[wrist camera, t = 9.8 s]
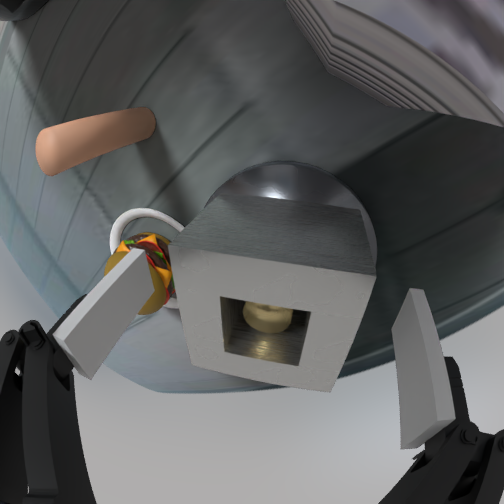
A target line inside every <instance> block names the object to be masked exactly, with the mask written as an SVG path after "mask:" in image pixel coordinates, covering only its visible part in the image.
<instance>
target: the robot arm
mask: <svg viewBox="0 0 504 504" xmlns="http://www.w3.org/2000/svg"><path fill="white" fill-rule="evenodd" d="M47 1H48V0H0V21H13V20H23V19H25V18H28V17H29V16H31V15H32V14H34V13H35V12H36V11H37V10H39V9H40V8H41V7H42V6H43V5H44V4H45V3H46V2H47ZM154 291H155V290H154V286H153V282H152V278H151V274H150V270H149V266H148V262H147V257H146V253H145V250H142V249H136V248H133V249H132V250H131V251H130V252H129V253H128V254H127V255H126V256H125V257H124V258H123V259H122V260H121V261H120V262H119V263H118V264H117V265H116V266H115V267H114V268H113V269H112V270H111V271H110V272H109V273H108V274H107V275H106V276H105V277H104V278H103V279H102V280H101V281H100V282H99V283H98V284H97V285H96V286H95V287H94V288H93V289H92V291H91V292H90V293H89V294H88V295H87V294H85V295H83V296H82V297H80V298H79V299H77V300H76V301H75V302H74V303H73V304H72V306H71V308H69V309H68V310H67V311H66V313H65V314H63V316H62V317H61V318H60V319H59V320H58V321H57V323H55V325H54V326H53V327H52V328H51V329H50V330H49V332H48V333H47V334H46V333H45V331H44V330H43V328H42V327H41V325H40V323H39V322H38V321H36V320H30V321H28V322H26V323H25V324H23V325H22V326H21V328H20V329H19V332H17V331H16V330H10V331H8V332H6V333H5V334H4V335H3V337H2V339H1V341H0V504H96V501H95V497H94V494H93V491H92V487H91V484H90V480H89V476H88V472H87V468H86V463H85V458H84V454H83V449H82V444H81V437H80V431H79V425H78V418H77V410H76V400H75V388H74V375H73V372H72V369H73V367H75V368H76V370H77V371H78V372H79V374H81V375H82V376H84V377H86V378H88V379H90V380H91V379H92V378H93V376H94V374H95V373H96V372H97V370H98V369H99V367H100V366H101V364H102V363H103V361H104V360H105V359H106V357H107V356H108V354H109V353H110V351H111V350H112V348H113V347H114V346H115V344H116V343H117V341H118V340H119V339H120V337H121V336H122V334H123V333H124V332H125V330H126V329H127V327H128V326H129V325H130V323H131V322H132V320H133V319H134V318H135V316H136V315H137V314H138V312H139V311H140V310H141V308H142V307H143V306H144V304H145V303H146V302H147V300H148V299H149V298H150V296H151V295H152V294H153V292H154ZM391 331H392V337H393V344H394V351H395V360H396V368H397V378H398V390H399V404H400V425H401V449H412V448H418V447H420V446H421V445H422V444H424V443H425V450H423V451H422V452H420V453H419V454H417V455H416V456H415V457H414V458H413V460H415V459H416V458H417V460H416V461H415V462H414V463H413V465H412V466H411V467H410V469H409V470H408V471H407V472H406V473H405V475H404V476H403V477H402V478H401V480H399V482H398V483H397V484H396V485H395V486H394V487H393V489H392V490H391V491H390V492H389V493H388V494H387V495H386V496H385V497H384V498H383V499H382V500H381V501H380V502H379V503H378V504H499V502H500V499H501V496H502V493H503V490H504V429H503V430H501V431H499V432H498V433H496V434H495V435H492V434H487V433H483V432H480V431H479V429H478V427H477V426H476V425H475V424H474V423H473V422H470V419H469V414H468V408H467V403H466V398H465V393H464V388H463V383H462V380H461V375H460V371H459V367H458V365H457V363H456V362H455V360H454V359H453V357H444V356H443V352H442V348H441V345H440V341H439V337H438V333H437V330H436V327H435V323H434V320H433V317H432V314H431V311H430V308H429V305H428V302H427V299H426V296H425V293H424V290H422V289H413V288H409V291H408V293H407V295H406V298H405V300H404V302H403V305H402V307H401V309H400V311H399V314H398V316H397V318H396V320H395V322H394V324H393V326H392V328H391ZM16 367H17V368H18V369H19V370H20V374H19V376H18V375H17V374H16V373H15V369H16ZM28 486H29V493H28Z"/></svg>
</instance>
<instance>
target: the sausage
mask: <svg viewBox="0 0 504 504" xmlns="http://www.w3.org/2000/svg"><path fill="white" fill-rule="evenodd" d="M155 126H156V120H155V116H154V114H153V113H152V111H151V110H150V109H148V108H146V107H138V108H131V109H125V110H119V111H114V112H109V113H104V114H99V115H94V116H90V117H86V118H81V119H77V120H73V121H70V122H66V123H62V124H59V125H55V126H52V127H49V128H45V129H43V130H42V131H41V132H40V133H39V135H38V137H37V141H36V157H37V161H38V164H39V166H40V168H41V169H42V171H43V172H44V173H45V174H46V175H48V176H54V175H56V174H58V173H60V172H62V171H65V170H67V169H69V168H71V167H73V166H76V165H78V164H80V163H83V162H85V161H88V160H90V159H92V158H95V157H97V156H100V155H102V154H105V153H108V152H110V151H113V150H116V149H118V148H121V147H124V146H127V145H130V144H133V143H136V142H139V141H142V140H145V139H147V138H149V137H150V136H151V135H152V134H153V132H154V130H155Z"/></svg>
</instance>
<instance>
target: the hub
mask: <svg viewBox="0 0 504 504" xmlns="http://www.w3.org/2000/svg"><path fill="white" fill-rule="evenodd" d="M220 193H231V194H242V195H252V196H261V197H271V198H279V199H288V200H296V201H304V202H312V203H319V204H326V205H333V206H340V207H346V208H353V209H359V210H360V211H361V214H362V218H363V222H364V225H365V229H366V233H367V237H368V241H369V245H370V249H371V253H372V257H373V262H374V266H376V261H377V242H376V236H375V232H374V228H373V225H372V222H371V219H370V217H369V214H368V212H367V210H366V208H365V206H364V205H363V203H362V201H361V200H360V198H359V197H358V196H357V195H356V194H355V193H354V191H353V190H352V189H351V188H350V187H349V186H347V185H346V184H345V183H344V182H343V181H342V180H340V179H339V178H337V177H336V176H334V175H333V174H331V173H329V172H327V171H325V170H323V169H321V168H318V167H315V166H312V165H309V164H305V163H300V162H293V161H274V162H266V163H262V164H258V165H254V166H252V167H249V168H247V169H244V170H242V171H241V172H239V173H237V174H236V175H234V176H232V177H231V178H230V179H229V180H228V181H226V182H225V183H224V184H223V185H222V186H221V187H219V188H218V189H217V190H216V192H215V193H214V194H213V195H212V196H211V197H210V199H209V200H208V202H207V204H206V205H205V207H206V206H208V205H209V204H210V203H211V202H212V201H213V200H214V199H215V198H216V197H217V196H218V195H219V194H220ZM205 207H204V208H205ZM292 313H293V309H291V308H284V307H278V306H272V305H266V304H261V303H255V302H249V301H246V303H245V305H244V308H243V316H244V319H245V320H246V322H247V323H248V324H249V325H250V326H251V327H253V328H254V329H256V330H258V331H261V332H265V333H278V332H281V331H283V330H285V329H286V328H287V327H288V326H289V325H290V323H291V318H292Z"/></svg>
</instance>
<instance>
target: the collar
mask: <svg viewBox="0 0 504 504" xmlns="http://www.w3.org/2000/svg"><path fill="white" fill-rule="evenodd" d="M168 249H169V256H170V262H171V268H172V274H173V279H174V285H175V290H176V295H177V301H178V306H179V310H180V315H181V320H182V325H183V329H184V334H185V338H186V342H187V347H188V351H189V355H190V359H191V363H192V365H194V366H198V367H201V368H205V369H209V370H213V371H217V372H221V373H225V374H229V375H233V376H237V377H242V378H246V379H251V380H256V381H261V382H266V383H271V384H277V385H282V386H288V387H294V388H301V389H308V390H316V391H323V392H331V390H332V388H333V386H334V384H335V381H336V379H337V377H338V375H339V373H340V371H341V368H342V366H343V364H344V362H345V359H346V357H347V355H348V352H349V350H350V348H351V345H352V343H353V340H354V338H355V335H356V333H357V330H358V328H359V325H360V323H361V320H362V317H363V315H364V312H365V309H366V306H367V304H368V301H369V298H370V295H371V292H372V289H373V286H374V283H375V280H376V277H377V276H376V271H375V266H374V262H373V257H372V253H371V249H370V245H369V241H368V237H367V233H366V229H365V225H364V222H363V218H362V214H361V211H360V210H359V209H353V208H346V207H340V206H333V205H326V204H319V203H312V202H304V201H296V200H288V199H279V198H271V197H261V196H252V195H242V194H231V193H220V194H219V195H218V196H217V197H216V198H215V199H214V200H213V201H212V202H211V203H210V204H209V205H208V206H206V207H205V208H204V209H203V210H202V211H201V212H200V213H199V214H198V215H197V216H196V217H195V218H194V219H193V220H192V221H191V222H190V223H189V224H188V225H187V226H186V227H185V228H184V229H183V230H182V231H181V232H180V233H179V234H178V235H177V236H176V237H175V238H174V239H173V240H172V241H171V242H170V243H169V244H168ZM246 301H249V302H255V303H261V304H266V305H272V306H278V307H284V308H291V309H293V313H292V318H291V323H290V325H289V326H288V327H287V328H286V329H285V330H283V331H281V332H278V333H265V332H261V331H258V330H256V329H254V328H253V327H251V326H250V325H249V324H248V323H247V322H246V320H245V319H244V316H243V308H244V305H245V303H246Z"/></svg>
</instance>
